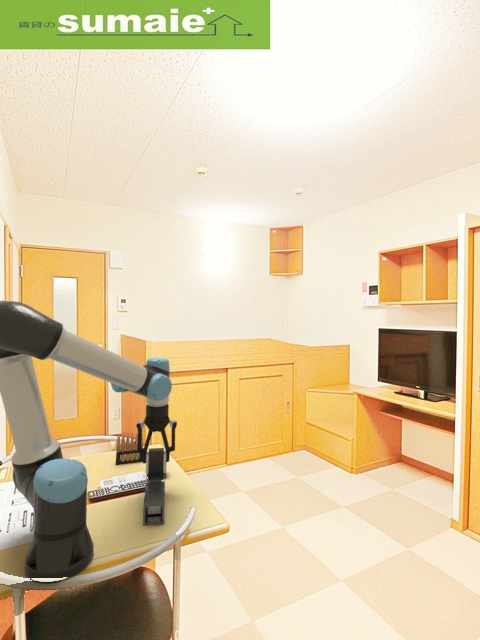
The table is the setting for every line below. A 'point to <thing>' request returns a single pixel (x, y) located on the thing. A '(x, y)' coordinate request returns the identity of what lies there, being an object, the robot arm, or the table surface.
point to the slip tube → (155, 472)
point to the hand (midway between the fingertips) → (156, 471)
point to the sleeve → (154, 502)
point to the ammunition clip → (128, 450)
